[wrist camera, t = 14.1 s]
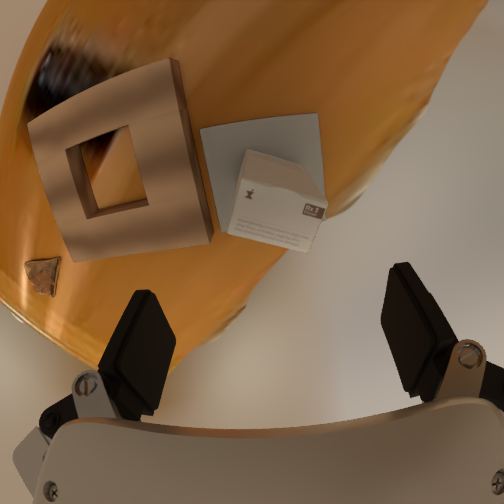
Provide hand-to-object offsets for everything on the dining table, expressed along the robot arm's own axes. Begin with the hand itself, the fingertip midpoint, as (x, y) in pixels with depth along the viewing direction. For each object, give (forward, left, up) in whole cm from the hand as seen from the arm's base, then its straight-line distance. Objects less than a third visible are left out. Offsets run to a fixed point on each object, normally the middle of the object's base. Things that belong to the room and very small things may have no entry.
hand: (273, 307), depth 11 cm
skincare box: (0, 0, -21) cm, 21 cm away
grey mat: (0, 0, -21) cm, 21 cm away
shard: (+8, -39, -22) cm, 46 cm away
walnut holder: (-4, -17, -21) cm, 27 cm away
